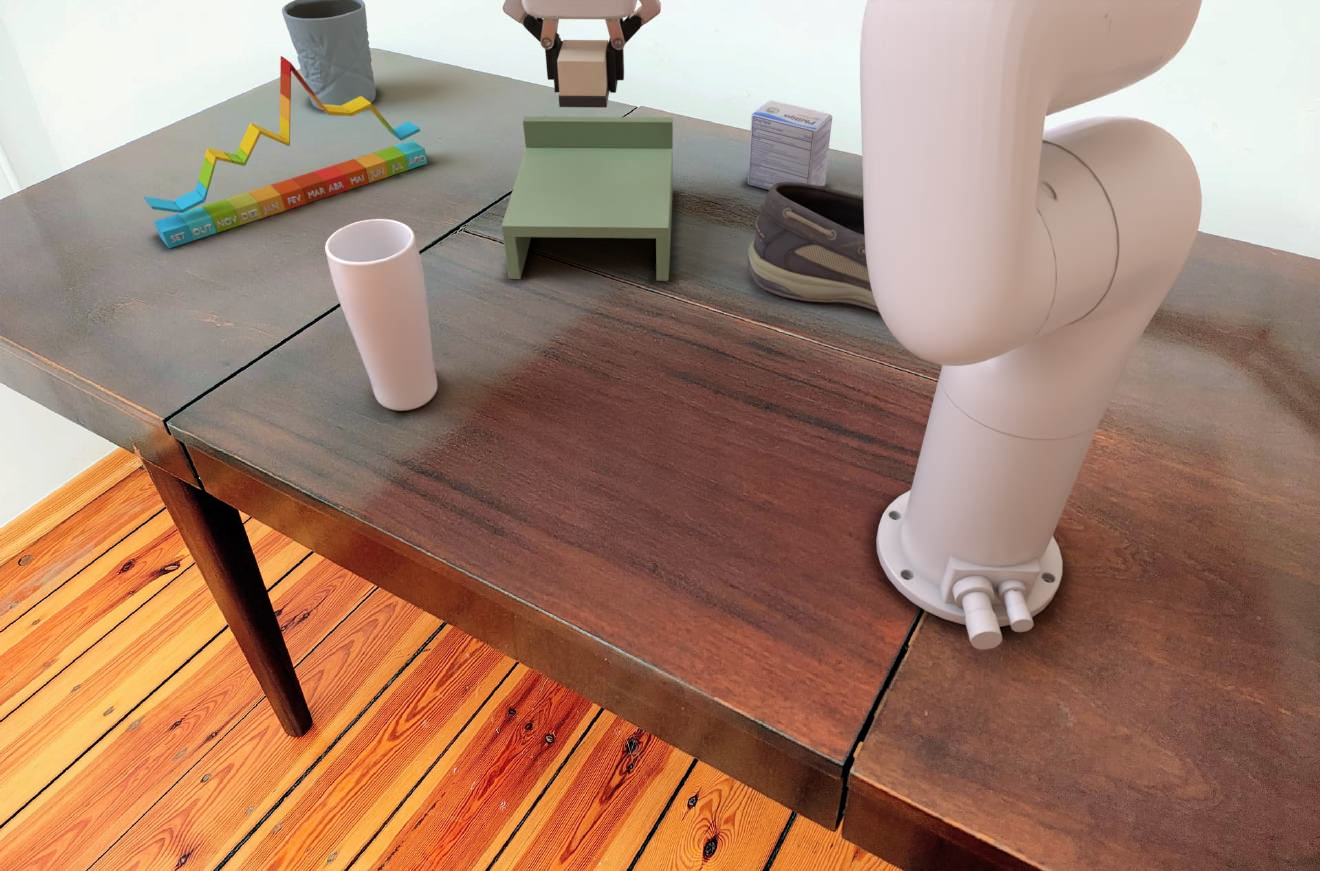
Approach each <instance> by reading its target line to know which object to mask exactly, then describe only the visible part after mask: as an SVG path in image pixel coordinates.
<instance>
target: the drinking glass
mask: <svg viewBox="0 0 1320 871" xmlns="http://www.w3.org/2000/svg"><path fill="white" fill-rule="evenodd" d="M415 235H416V234H415V232H414V230H413V229H412V228H411V227H410V226H409V225H407V224H405V223H403V222H401V221H398V220H394V219H388V218H387V219H386V218H373V219H372V218H371V219H365V220H359V221H356V222H352V223H350V224H347V225H344V226H343V227H341V228H339V229H337V230H336V231H334V232H333V233H332V234H330V236H329V237H328V238H327V240H326V242H325V245H324V251H325V255H326V260H327V265H328V270H329V272H330V277H331V280H332V284H333V287H334V291H335V293H336V294H335V295H336V297H337V299H338V302H339V305H340V307H341V310H342V312H343V315H344V318H345V320H346V322H347V325H348V328H349V330H350V332H351V335H352V337H353V338H352V339H353V340H354V342H355V346H356V348H357V350H358V353H359V356H360V358H361V361H362V364H363V366H364V368H365V370H366V373H367V376H368V378H369V379H368V380H369V382H370V384H371V388H372V392H373V395H374V398H375V400H376V401H377V403H379V405H381V406H382V407H384V408H386V409H388V410H391V411H399V412H400V411H401V412H402V411H403V412H404V411H411V410H414V409H415V410H416V409H418V408H421V407H422V406H425V405H426V404H427V403H429V402H430V401H431V400H432V399H433V398H434V397H435V395H436V393H437V390H438V384H439V383H438V377H437V373H436V368H435V361H434V352H433V351H434V350H433V343H432V333H431V325H430V323H431V322H430V314H429V305H428V294H427V287H426V286H427V285H426V279H425V274H424V268H423V263H422V259H421V255H420V254H421V253H420V250H419V247H418V243H417V239H416V236H415Z"/></svg>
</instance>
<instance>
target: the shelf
mask: <svg viewBox="0 0 1320 871" xmlns="http://www.w3.org/2000/svg"><path fill="white" fill-rule="evenodd" d="M522 125H523V134H524V143H525V148H524V152H523V156H522V159H521V162H520V165H519V168H518V172H517V175H516V178H515V182H514V185H513V188H512V192H511V194H510V198H509V201H508V204H507V207H506V210H505V213H504V216H503V221H502V224H501V230H502V238H503V245H504V253H505V261H506V268H507V275H508V279H509V280H521V279H522V274H523V270H524V267H525V263H526V259H527V256H528V252H529V248H530V243H531V240H532V238H578V239H579V238H582V239H583V238H584V239H585V238H588V239H655V253H656V254H655V258H656V259H655V260H656V261H655V262H656V264H655V269H656V271H655V272H656V281H657V282H659V281H660V282H669V279H670V258H671V240H672V239H671V237H672V235H671V234H672V214H673V190H674V188H673V184H674V183H673V180H674V178H673V174H674V173H673V171H674V170H673V165H674V164H673V163H674V162H673V161H674V160H673V159H674V158H673V157H674V156H673V155H674V152H673V151H674V150H673V149H674V147H673V146H674V145H673V144H674V142H673V141H674V137H673V136H674V134H673V133H674V118H673V117H667V116H666V117H663V116H662V117H661V116H660V117H658V116H656V117H655V116H654V117H653V116H651V117H650V116H644V117H643V116H642V117H641V116H638V117H637V116H524V117H523V119H522Z"/></svg>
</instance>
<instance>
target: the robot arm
mask: <svg viewBox="0 0 1320 871" xmlns="http://www.w3.org/2000/svg"><path fill="white" fill-rule="evenodd" d="M638 1H639V2H640V4H641V5H640V6H639V7H638V8H637V9H636V7H637V4H638ZM1202 3H1203V0H866V4H865V7H864V13H863V18H862V24H861V30H860V39H859V40H860V43H859V92H860V93H859V96H860V98H859V99H860V127H861V130H860V132H861V159H862V160H861V161H862V162H861V163H862V164H861V165H862V193H863V194H862V197H863V200H864V230H865V249H866V260H867V268H868V275H869V280H870V285H871V289H872V293H873V296H874V299H875V302H876V305H877V307H878V310H879V312H878V313H879V315H880V317H881V319H882V321H883V322H884V324H885V325H886V327H887V329H888V330H889V332H890V334H892V336H893V337H894V339H895V340H896V341H897V342H898V343H899V344H900V345H901V346H902V347H903V348H904V349H905V350H907V351H908V352H909V353H911V354H912V355H913V356H915V357H916V358H919V359H921V360H923V361H925V362H929V363H931V364H935V365H937V366H938V365H939V366H941V369H940V373H939V376H938V380H937V383H936V388H935V392H934V396H933V400H932V403H931V408H930V412H929V416H928V420H927V423H926V427H925V428H926V429H925V432H924V436H923V440H922V445H921V448H920V452H919V456H918V460H917V463H916V464H917V465H916V468H915V472H914V476H913V481H912V483H911V484H912V485H911V488H910V490H908V491H906V492H904V493H902V494H901V495H899V496H898V497H896V498H895V499H894V500H893V501H892V502H891V503H890V504H889V505H888V506H887V508H885V510H884V512H883V513H882V516H881V518H880V521H879V524H878V527H877V533H876V537H875V542H876V553H877V557H878V561H879V563H880V566H881V567H882V570H883V571H884V573H885V575H886V577H887V579H888V580H889V581H890V582H891V583H892V585H893V586H894V587H895V588H896V589H897V591H898V592H899V593H900V594H902V595H903V596H904V597H905V598H907V599H908V600H909V601H910V602H911V603H913V604H915V605H916V606H918V607H919V608H921V609H922V610H923V611H925V612H927V613H928V614H929V613H930V614H931V615H934V616H937V617H938V618H941V619H943V620H946V621H950V622H953V623H957V624H960V625H963V626H965V627H966V630H967V634H968V638H969V642H970V644H971V646H972V647H973V648H974V649H977V650H983V651H986V650H991V649H994V648H996V647H998V646H1000V644H1001V643H1002V642H1003V634H1002V632H1001V628H1000V627H1006V626H1010V629H1011V630H1012V631H1014V632H1017V633H1024V632H1028V631H1030V630H1032V629H1033V627H1034V620H1033V618H1034V617H1035V616H1036V615H1038V614H1039V613H1041V612H1042V611H1043V610H1045V609H1046V607H1047V606H1048V605H1049V604H1050V603H1051V601H1053V599H1054V596H1055V595H1056V592H1058V589H1059V586H1060V584H1061V580H1062V577H1063V557H1062V553H1061V550H1060V547H1059V545H1058V543H1057V540H1056V538H1055V537H1054V533H1055V532H1056V528H1057V526H1058V524H1059V521H1060V520H1061V517H1062V514H1063V512H1064V510H1065V507H1066V505H1067V502H1068V500H1069V498H1070V496H1071V492H1072V490H1073V489H1074V486H1075V483H1076V480H1077V479H1078V475H1079V473H1080V472H1081V469H1082V467H1083V464H1084V462H1085V459H1086V456H1087V455H1088V452H1089V449H1090V447H1091V445H1092V443H1093V440H1094V438H1095V435H1096V433H1097V430H1098V428H1099V426H1100V423H1101V421H1102V419H1103V418H1104V416H1105V413H1106V411H1107V409H1108V406H1109V404H1110V402H1111V399H1112V397H1113V395H1114V393H1115V390H1116V387H1117V386H1118V383H1119V380H1120V379H1121V376H1122V374H1123V372H1124V369H1125V368H1126V366H1127V364H1128V361H1129V359H1130V358H1131V355H1132V354H1133V352H1134V350H1135V348H1136V346H1137V344H1138V342H1139V340H1140V339H1141V337H1142V335H1143V334H1144V333H1145V331H1146V328H1148V326H1149V324H1150V322H1151V321H1152V319H1153V317H1154V316H1155V314H1156V313H1157V312H1158V310H1159V308H1160V306H1161V305H1162V303H1163V302H1164V300H1165V299H1166V297H1167V296H1168V294H1169V293H1170V291H1171V289H1172V288H1173V286H1174V284H1175V283H1176V281H1177V279H1178V278H1179V275H1180V274H1181V272H1182V270H1183V268H1184V266H1185V265H1186V262H1187V261H1188V259H1189V256H1190V253H1191V251H1192V249H1193V246H1194V244H1195V242H1196V238H1197V235H1198V231H1199V227H1200V222H1201V217H1202V208H1203V206H1202V202H1203V200H1202V198H1203V196H1202V187H1201V180H1200V177H1199V173H1198V169H1197V167H1196V165H1195V163H1194V161H1193V159H1192V157H1191V155H1190V153H1189V152H1188V151H1187V149H1186V147H1184V145H1183V144H1182V143H1181V142H1180V141H1179V139H1177V138H1176V137H1175V136H1174V135H1173V134H1171V133H1170V132H1169V131H1167V130H1166V129H1165V128H1163V127H1162V126H1159V125H1157V124H1155V123H1153V122H1151V121H1148V120H1145V119H1142V118H1139V117H1134V116H1129V115H1122V114H1121V115H1120V114H1107V115H1106V114H1105V115H1097V116H1096V115H1095V116H1088V117H1083V118H1078V119H1074V120H1069V121H1066V122H1062V123H1059V124H1055V125H1052V126H1051V127H1047V128H1045V123H1046V122H1045V121H1046V117H1048V116H1051V115H1055V114H1057V113H1060V112H1063V111H1066V110H1069V109H1072V108H1075V107H1077V106H1080V105H1083V104H1086V103H1089V102H1092V101H1095V100H1098V99H1101V98H1103V97H1106V96H1109V95H1112V94H1114V93H1117V92H1119V91H1122V90H1124V89H1126V88H1129V87H1131V86H1133V85H1136V84H1137V83H1139V82H1141V81H1143V80H1145V79H1147V78H1149V77H1151V76H1153V75H1154V74H1157V72H1158V71H1160V70H1161V69H1163V68H1164V67H1165V66H1167V65H1168V64H1169V63H1170V62H1172V60H1173V59H1175V57H1176V56H1177V55H1178V54H1179V53H1180V51H1181V50H1182V49H1183V47H1184V46H1185V45H1186V43H1188V40H1189V38H1190V36H1191V34H1192V32H1193V29H1194V27H1195V24H1196V22H1197V20H1198V18H1199V14H1200V9H1201V6H1202ZM635 9H636V10H635ZM502 11H503V13H504V14H505V15H507V16H508V17H510V18H511V19H513V20H514V21H516V22H517V23H518V24H520V25H522V26H523V28H524V29H526V31H527V32H529V34H531V35H532V36H533V37H534V38H535V39H536V40H537V41H538V42H539V43H540V46H541V47H542V48H543V49H544V54H545V66H546V77H547V80H548V81H553V87H554V93H560V91H559V78H558V65H557V60H558V57H559V53H560V50H561V47H562V43H563V40H562V37H560V34H559V33H558V29H559V21H560V20H604V21H605V25H606V28H607V31H608V35H609V39H608V47H607V76H608V90H609V91H610V92H609V94H610V93H611V94H616V93H617V88H618V81H624V79H625V54H624V50H625V49H624V48H625V46H626V44H627V43H628V42H629V41H630V39H632V38H633V37H634V35H635V34H637V33H638V32H639V30H640V29H641V28H642V27H643V26H644V25H646V24H648V23H649V22H650V21H652V20H653V19H654V18H656V17H657V16H659V15H660V13H661V11H662V2H661V1H660V0H505V1H504V3H503V5H502Z"/></svg>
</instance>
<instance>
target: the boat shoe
mask: <svg viewBox="0 0 1320 871" xmlns="http://www.w3.org/2000/svg"><path fill="white" fill-rule="evenodd" d="M760 209H761V210H760V213H759V215H758V216H757V217H756V219H755V220H754V224H753V225H754V226H753V227H754V231H755V234H754V239H753V240H752V242H751V243H750V244H749V247H748V248H747V253H746V262H747V268H748V271H749V273H750V276H751V278H752V279H753V281H754V282H755V283H756V284H757V285H758V287H760V288H761V289H763V290H765V291H766V292H769V293H770V294H774V295H776V296H779V297H782V298H787V299H792V300H797V301H804V302H813V303H841V304H849V305H853V306H858V307H862V308H866V309H868V310H870V311H871V310H872V311H874V312H877V313H880V312H879V310H878V307H877V305H876V302H875V299H874V296H873V293H872V289H871V285H870V280H869V275H868V268H867V260H866V249H865V230H864V200H863V195H857V194H854V193H850V192H846V191H844V190H838V189H834V188H831V187H829V186H827V185H825V186H818V185H812V184H806V183H799V182H780V183H776V184H774V185H773V186H772V187H771V189H770V190H768V192H767V194H766V196H765V199H764V201H763V203H762V204H761V206H760Z"/></svg>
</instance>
